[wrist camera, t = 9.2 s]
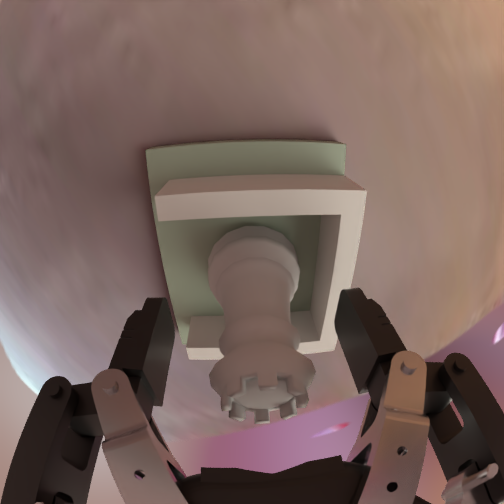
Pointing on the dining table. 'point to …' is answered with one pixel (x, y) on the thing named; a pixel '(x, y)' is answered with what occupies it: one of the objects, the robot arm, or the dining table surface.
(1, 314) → the dining table surface
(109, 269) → the dining table surface
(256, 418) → the rook chess piece
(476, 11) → the dining table surface
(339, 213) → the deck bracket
